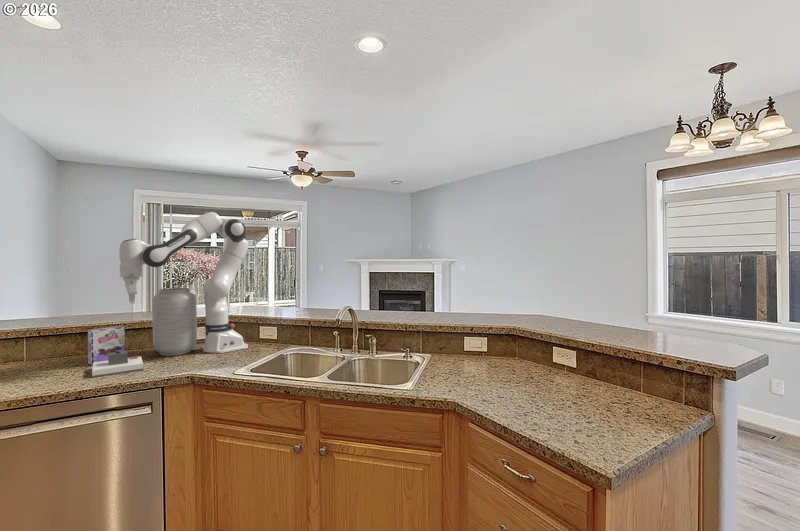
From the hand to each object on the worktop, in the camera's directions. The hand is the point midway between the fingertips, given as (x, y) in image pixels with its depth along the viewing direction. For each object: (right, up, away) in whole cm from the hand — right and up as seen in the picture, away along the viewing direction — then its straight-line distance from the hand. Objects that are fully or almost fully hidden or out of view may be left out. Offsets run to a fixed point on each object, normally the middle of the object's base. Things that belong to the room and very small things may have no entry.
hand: (132, 302), depth 187 cm
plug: (0, -28, -9) cm, 30 cm away
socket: (0, -29, -9) cm, 31 cm away
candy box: (-14, -29, +4) cm, 33 cm away
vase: (+8, -29, +22) cm, 37 cm away
